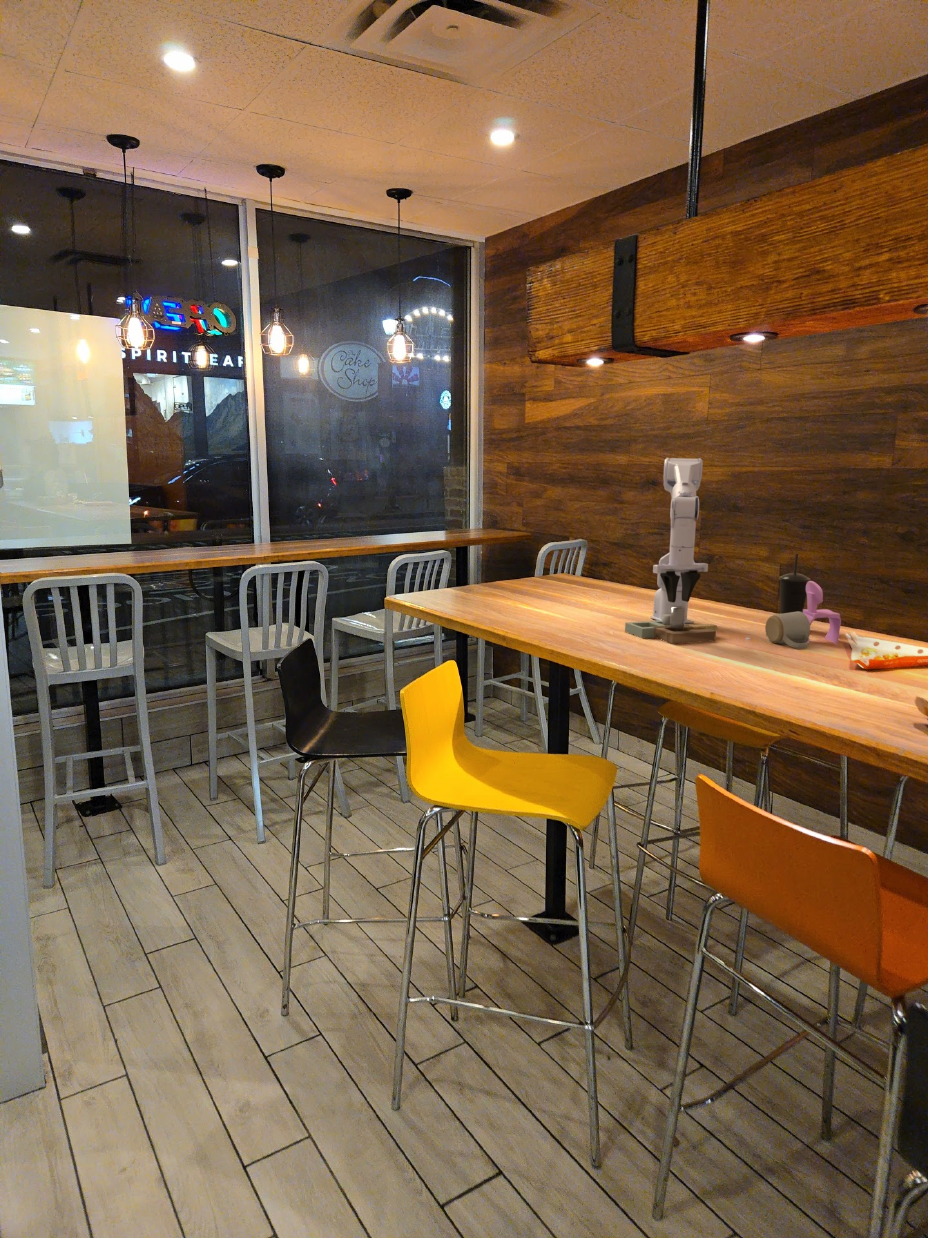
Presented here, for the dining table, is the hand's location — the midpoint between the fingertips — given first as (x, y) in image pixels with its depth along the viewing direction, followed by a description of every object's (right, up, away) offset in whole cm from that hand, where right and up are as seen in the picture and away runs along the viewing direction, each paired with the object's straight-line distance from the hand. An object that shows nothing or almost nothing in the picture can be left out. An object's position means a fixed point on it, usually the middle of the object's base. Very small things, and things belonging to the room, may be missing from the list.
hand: (678, 601), depth 206 cm
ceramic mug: (+27, -11, -2) cm, 29 cm away
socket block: (+2, -9, +2) cm, 10 cm away
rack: (-3, -8, +8) cm, 12 cm away
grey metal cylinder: (0, -9, +2) cm, 9 cm away
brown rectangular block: (+7, -9, +4) cm, 12 cm away
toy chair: (+35, -10, +2) cm, 36 cm away
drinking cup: (+34, -7, +16) cm, 38 cm away
